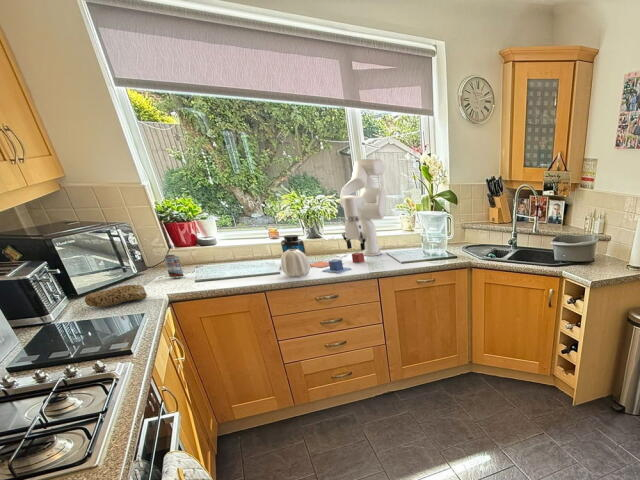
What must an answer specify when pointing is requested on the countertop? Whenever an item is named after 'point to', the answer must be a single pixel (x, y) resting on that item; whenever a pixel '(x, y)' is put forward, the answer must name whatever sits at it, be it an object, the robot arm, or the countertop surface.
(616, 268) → the countertop surface
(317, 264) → the red mat
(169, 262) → the beverage can
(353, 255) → the red block
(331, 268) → the blue block
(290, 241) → the container
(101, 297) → the sponge
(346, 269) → the blue mat
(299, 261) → the vase
